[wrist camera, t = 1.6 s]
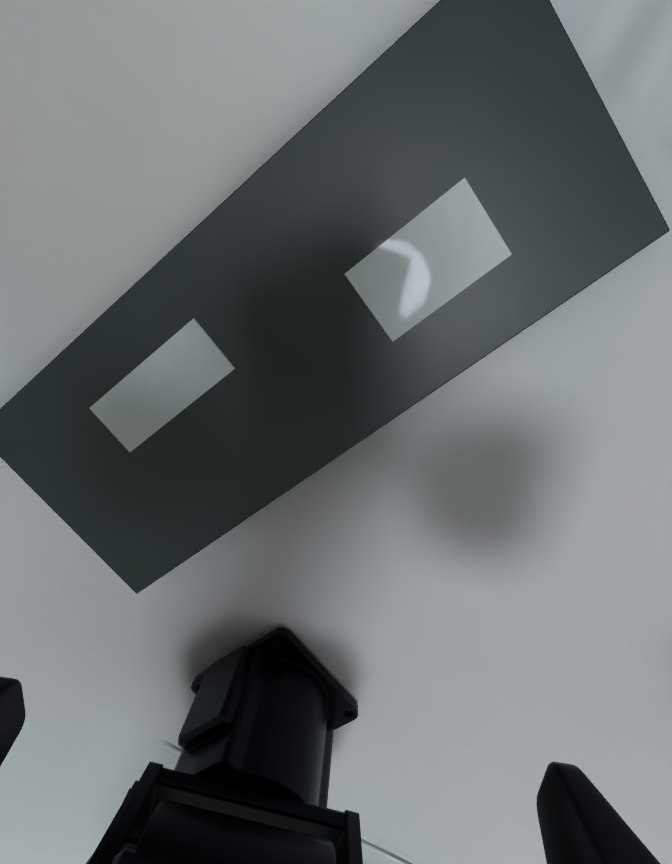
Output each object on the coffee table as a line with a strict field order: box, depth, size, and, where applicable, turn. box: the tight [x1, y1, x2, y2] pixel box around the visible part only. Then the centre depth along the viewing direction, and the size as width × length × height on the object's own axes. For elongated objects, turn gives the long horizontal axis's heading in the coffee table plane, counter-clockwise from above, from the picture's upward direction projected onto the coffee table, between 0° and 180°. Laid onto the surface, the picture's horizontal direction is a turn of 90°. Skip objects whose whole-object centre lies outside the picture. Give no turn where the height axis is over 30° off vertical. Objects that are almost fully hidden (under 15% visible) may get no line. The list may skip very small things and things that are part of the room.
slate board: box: [0, 0, 669, 593], centre depth 18 cm, size 10×26×1 cm, turn 127°
